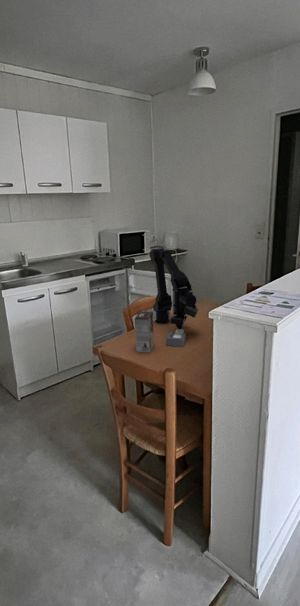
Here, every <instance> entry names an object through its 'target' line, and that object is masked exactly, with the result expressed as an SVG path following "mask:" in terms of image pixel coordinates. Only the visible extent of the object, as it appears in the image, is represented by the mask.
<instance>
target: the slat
mask: <svg viewBox="0 0 300 606" xmlns="http://www.w3.org/2000/svg"><path fill="white" fill-rule="evenodd" d="M183 332H185V331H184V329H183V328H182V329H178V328H176V330H175V332H174V334H173V335H172V337H173V338H181V336H182V334H183Z"/></svg>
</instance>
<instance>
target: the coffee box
mask: <svg viewBox="0 0 300 606" xmlns="http://www.w3.org/2000/svg"><path fill="white" fill-rule="evenodd" d="M134 324H135V341H136V342H135V343H136V344H135V345H136V347H135V348H136V352H137V353H138V352H139V353H140V352H141V353H151V351H152V349H153V347H154V345H155V339H154V338H155V334H154V333H155V332H154V312H153V311H139V312H138V314H137V315H136V316H135V318H134Z"/></svg>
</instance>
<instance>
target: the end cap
mask: <svg viewBox="0 0 300 606" xmlns="http://www.w3.org/2000/svg"><path fill="white" fill-rule="evenodd" d="M186 334H187V332H185V331H184V332H183V334H182V336H181V338H173V331H170V330H169V332H168V334H167V336H166V338H165V345H166V346H172V347H182V348H183V347H184V344H185V342H186V340H187V339H186V337H187V335H186Z"/></svg>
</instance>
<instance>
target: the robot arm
mask: <svg viewBox="0 0 300 606" xmlns="http://www.w3.org/2000/svg"><path fill="white" fill-rule="evenodd" d="M148 255H149V258H150V262H151V263H152V264H153V266H154V271H155V279H156V288H157V294H156V297H155V302H154V304H153V305H152V310H153V311H154V312H155V316H156V317H155V323H156V324H168V323H169V321H170V324H172V325H175V326H176V329H183V326H184V324H185V323H186V322H185V321H186V320H187V319H188V316H190V317H192V318H196V316H197V314H198V311H199V309H198V308H197V305H196V303H197V298H196V296H195V295H194V293H193V291H192V290H193V289H192V285H191V282H190V281H189V278H188V276H187V274H185V273H184V272H183V271H181V270H180V268H179V267H178V265H177V263H176V261H175V259H174V257H173V256H172V252H171V250H169V249H164V247H159V248H152V249H150V251H149V253H148ZM165 267H166V269H167V271H168V273H169V275H170V280H169V281H170V285H171V286H172V289H171V290H172V291H173V297H174V298H173V300H174V301H173V300H172V296H171V294H169V293H168V290H167V279H166V271H165ZM173 302H174V303H173ZM172 307H173V309H174V311H173V316H170V315H171V314H170V312H169V311H172ZM170 317H171V318H170Z"/></svg>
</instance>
